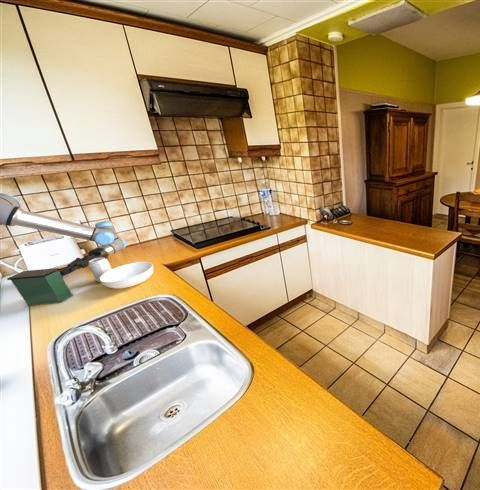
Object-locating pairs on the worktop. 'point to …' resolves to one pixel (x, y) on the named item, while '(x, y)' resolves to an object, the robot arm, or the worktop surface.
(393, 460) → the worktop surface
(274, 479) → the worktop surface
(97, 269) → the can
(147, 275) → the serving bowl
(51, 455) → the worktop surface
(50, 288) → the box
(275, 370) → the worktop surface
